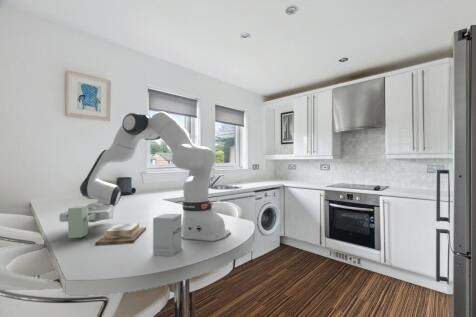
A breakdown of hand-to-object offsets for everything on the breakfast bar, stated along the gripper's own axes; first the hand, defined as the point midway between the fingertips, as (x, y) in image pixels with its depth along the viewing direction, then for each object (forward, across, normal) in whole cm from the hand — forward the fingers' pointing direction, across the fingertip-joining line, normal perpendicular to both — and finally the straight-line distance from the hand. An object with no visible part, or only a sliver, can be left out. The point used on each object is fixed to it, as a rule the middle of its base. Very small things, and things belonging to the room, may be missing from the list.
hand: (77, 219), depth 93 cm
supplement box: (+20, +40, +9) cm, 45 cm away
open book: (-1, +18, +9) cm, 20 cm away
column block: (-1, 0, +7) cm, 7 cm away
